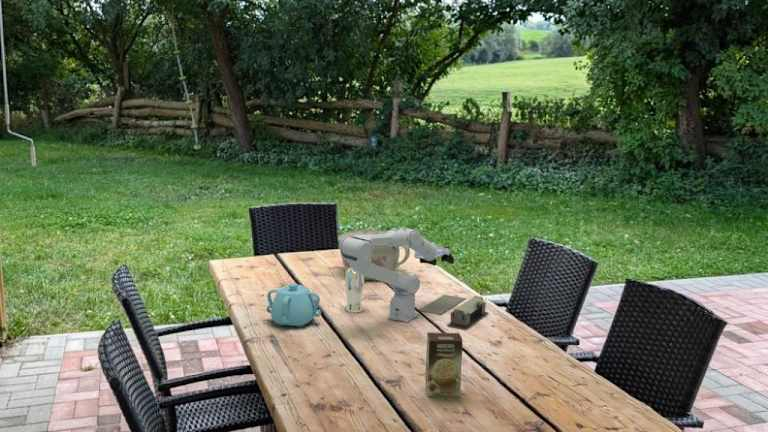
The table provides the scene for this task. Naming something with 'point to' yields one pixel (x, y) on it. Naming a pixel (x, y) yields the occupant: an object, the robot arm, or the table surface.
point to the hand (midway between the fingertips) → (444, 262)
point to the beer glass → (354, 290)
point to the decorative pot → (293, 305)
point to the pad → (442, 304)
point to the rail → (468, 307)
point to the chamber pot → (379, 252)
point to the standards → (468, 318)
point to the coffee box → (443, 365)
